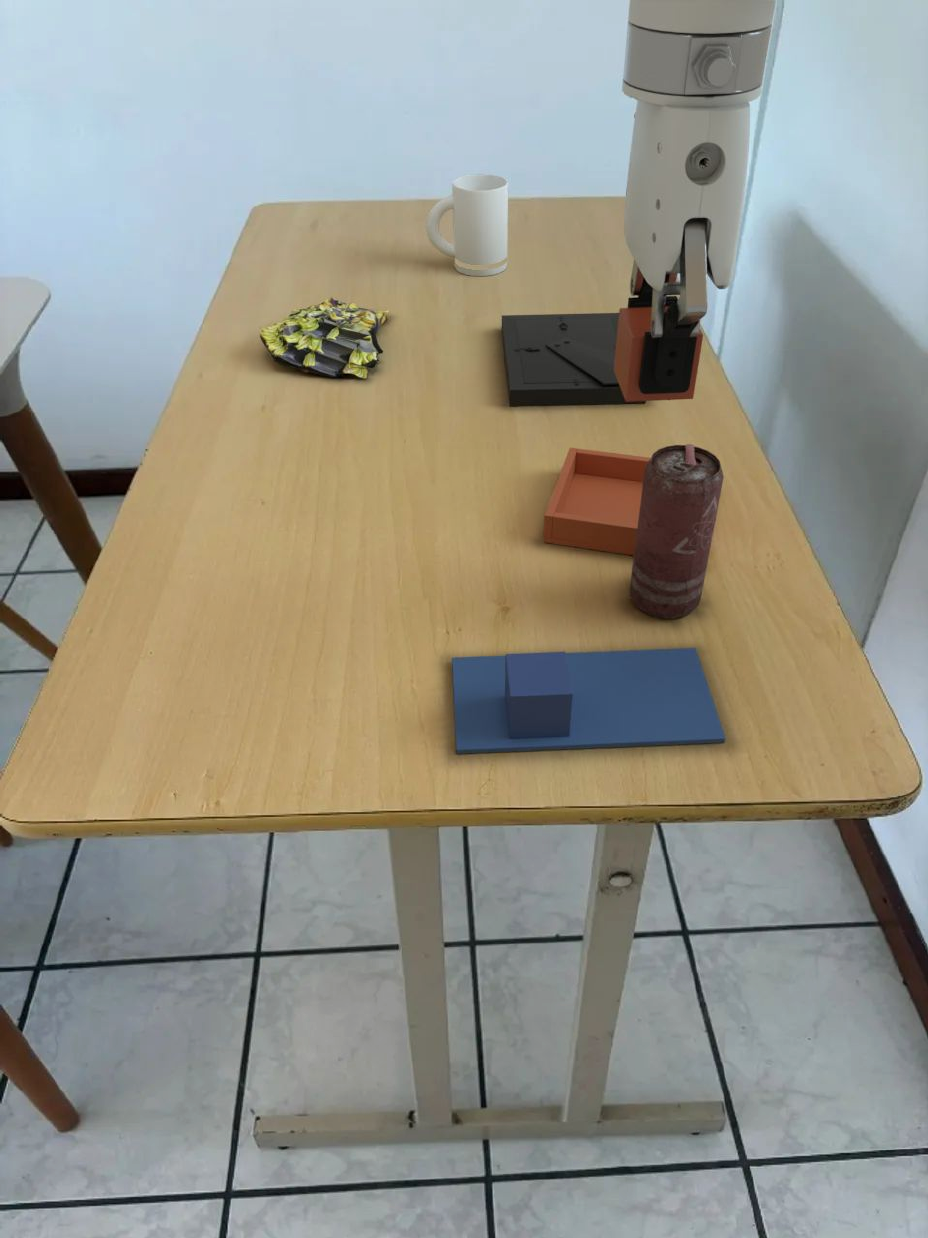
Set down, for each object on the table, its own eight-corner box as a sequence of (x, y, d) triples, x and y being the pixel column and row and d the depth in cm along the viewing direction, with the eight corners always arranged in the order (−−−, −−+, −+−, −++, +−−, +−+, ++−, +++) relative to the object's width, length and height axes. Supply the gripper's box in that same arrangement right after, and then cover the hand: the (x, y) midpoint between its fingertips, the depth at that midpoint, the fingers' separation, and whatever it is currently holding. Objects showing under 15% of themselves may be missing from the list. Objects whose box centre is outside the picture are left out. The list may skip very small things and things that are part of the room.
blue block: (562, 693, 75) (565, 651, 72) (569, 736, 71) (573, 693, 68) (504, 696, 75) (505, 653, 72) (509, 739, 71) (510, 696, 68)
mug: (427, 258, 147) (423, 175, 139) (504, 255, 147) (505, 172, 140) (429, 278, 141) (425, 193, 133) (509, 275, 141) (510, 189, 133)
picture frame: (645, 403, 111) (620, 327, 127) (648, 380, 109) (622, 307, 125) (509, 406, 111) (501, 330, 127) (510, 383, 109) (501, 309, 125)
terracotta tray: (710, 492, 97) (715, 465, 95) (699, 565, 88) (704, 538, 86) (568, 473, 100) (569, 447, 98) (543, 542, 91) (544, 515, 89)
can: (696, 577, 86) (720, 440, 77) (702, 623, 81) (729, 483, 72) (627, 574, 87) (644, 438, 78) (630, 619, 82) (648, 480, 73)
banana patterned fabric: (311, 311, 134) (321, 266, 131) (416, 357, 133) (429, 312, 129) (239, 349, 118) (247, 299, 114) (358, 402, 117) (370, 352, 113)
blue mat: (694, 652, 79) (695, 647, 78) (724, 743, 71) (726, 738, 71) (452, 661, 78) (451, 657, 78) (456, 754, 71) (456, 749, 70)
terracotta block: (677, 368, 66) (686, 305, 63) (693, 399, 63) (703, 334, 60) (613, 370, 66) (619, 307, 63) (625, 402, 63) (632, 336, 60)
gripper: (814, 96, 46) (745, 434, 58) (721, 30, 58) (680, 317, 70) (659, 101, 45) (622, 439, 57) (599, 33, 58) (579, 321, 70)
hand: (654, 369), depth 64 cm, fingers closed on terracotta block, 4 cm apart
